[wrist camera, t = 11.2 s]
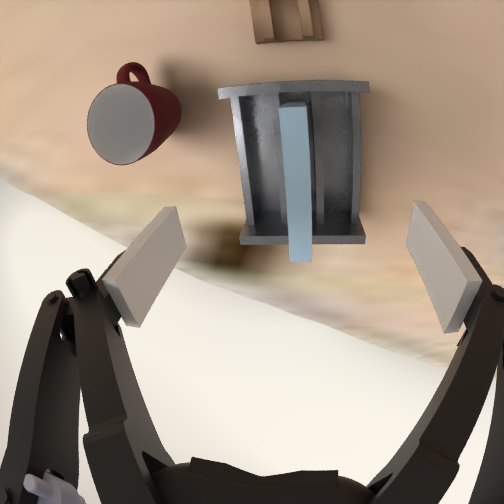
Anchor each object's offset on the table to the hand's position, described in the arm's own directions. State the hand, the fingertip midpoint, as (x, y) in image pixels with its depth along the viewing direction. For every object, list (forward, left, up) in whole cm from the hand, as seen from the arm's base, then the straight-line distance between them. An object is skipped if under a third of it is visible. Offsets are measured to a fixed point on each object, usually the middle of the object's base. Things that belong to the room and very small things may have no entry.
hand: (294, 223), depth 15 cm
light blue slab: (0, 0, -18) cm, 17 cm away
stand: (-20, 0, -19) cm, 27 cm away
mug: (-8, -16, -19) cm, 26 cm away
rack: (0, 0, -19) cm, 18 cm away
